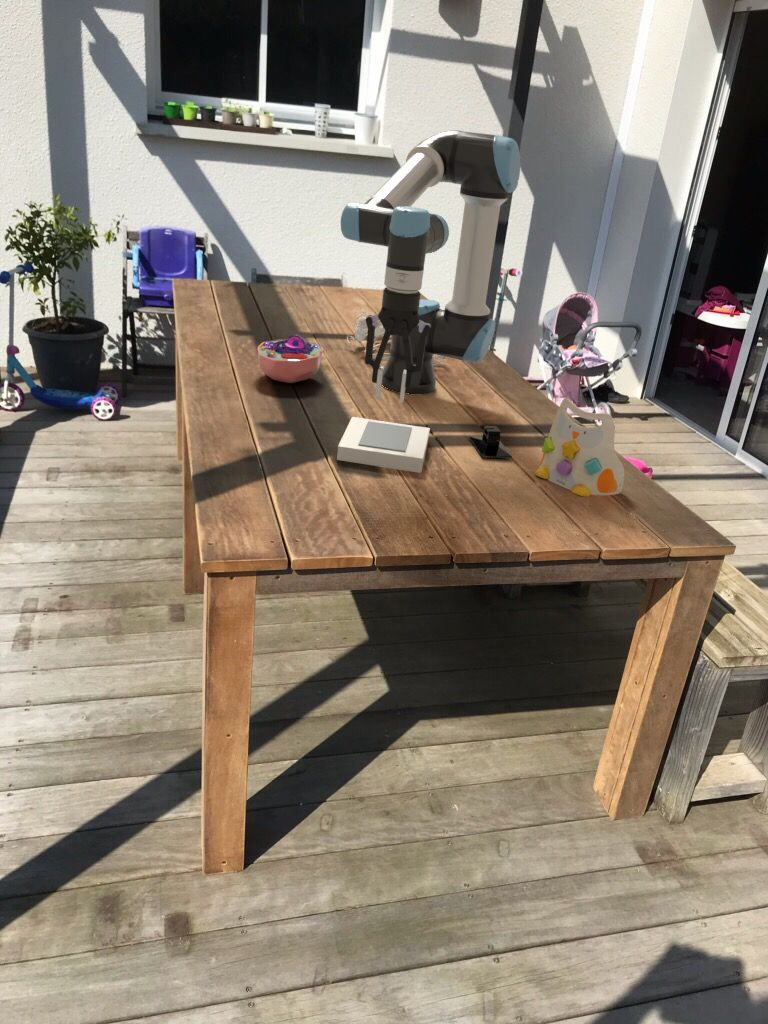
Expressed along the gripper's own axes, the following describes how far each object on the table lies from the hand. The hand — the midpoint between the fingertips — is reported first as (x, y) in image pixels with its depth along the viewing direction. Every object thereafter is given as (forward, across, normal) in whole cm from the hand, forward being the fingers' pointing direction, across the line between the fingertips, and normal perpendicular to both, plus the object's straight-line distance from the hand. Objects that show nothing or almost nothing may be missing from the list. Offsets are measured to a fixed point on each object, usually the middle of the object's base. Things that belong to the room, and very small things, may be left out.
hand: (389, 399), depth 178 cm
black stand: (+14, +23, +11) cm, 29 cm away
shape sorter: (+13, +41, 0) cm, 43 cm away
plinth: (+13, 0, 0) cm, 13 cm away
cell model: (+13, -31, +40) cm, 52 cm away
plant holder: (+14, -6, +78) cm, 80 cm away
